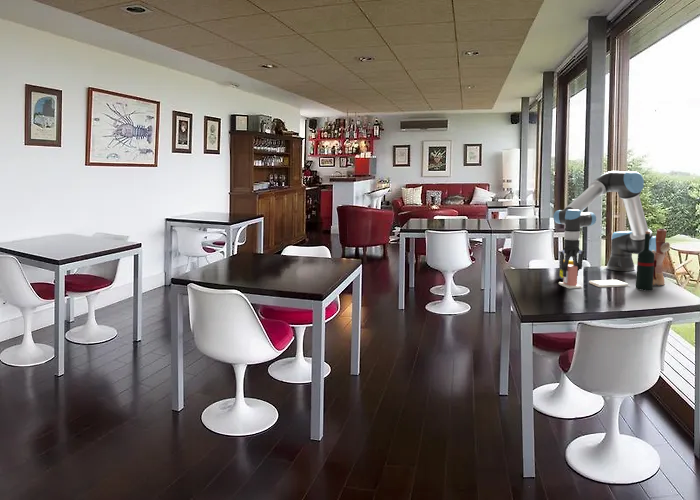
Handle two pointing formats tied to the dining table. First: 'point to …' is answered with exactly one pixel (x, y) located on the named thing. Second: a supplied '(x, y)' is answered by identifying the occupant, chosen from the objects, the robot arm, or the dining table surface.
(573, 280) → the pink rectangular block
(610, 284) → the white flat slab
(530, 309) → the dining table surface
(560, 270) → the supplement box
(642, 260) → the wine bottle
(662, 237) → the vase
